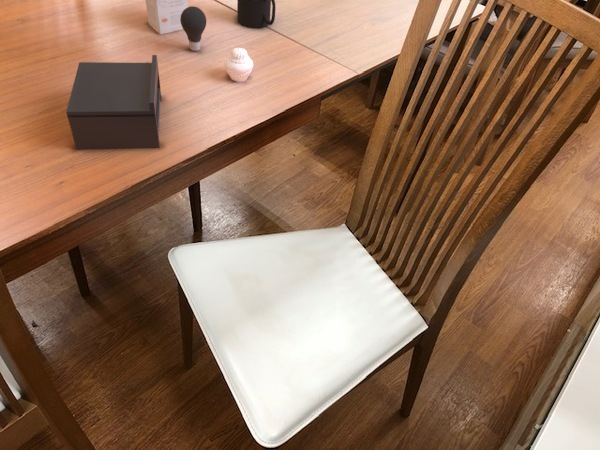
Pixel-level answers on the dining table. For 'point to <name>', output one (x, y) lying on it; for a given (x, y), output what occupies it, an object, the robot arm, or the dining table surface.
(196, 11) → the light bulb
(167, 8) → the small box
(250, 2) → the mug
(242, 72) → the muffin
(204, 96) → the dining table surface
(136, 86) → the block with raised edge
